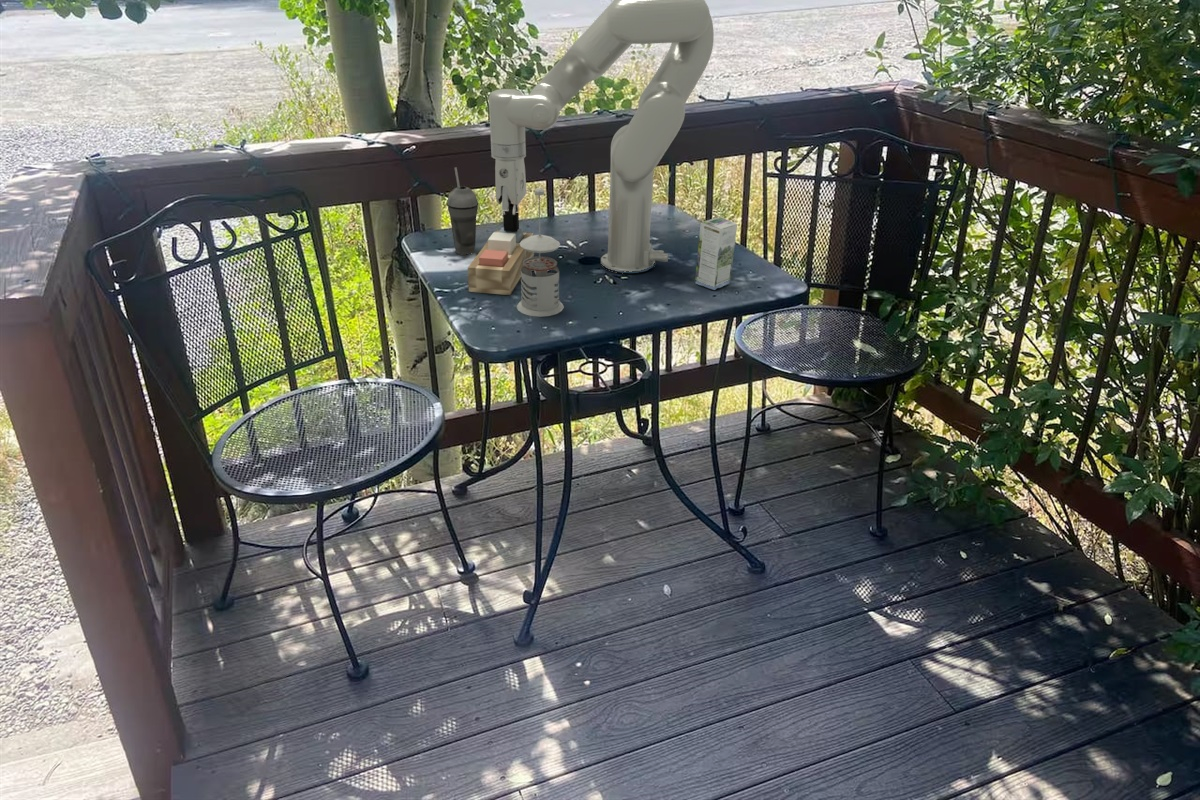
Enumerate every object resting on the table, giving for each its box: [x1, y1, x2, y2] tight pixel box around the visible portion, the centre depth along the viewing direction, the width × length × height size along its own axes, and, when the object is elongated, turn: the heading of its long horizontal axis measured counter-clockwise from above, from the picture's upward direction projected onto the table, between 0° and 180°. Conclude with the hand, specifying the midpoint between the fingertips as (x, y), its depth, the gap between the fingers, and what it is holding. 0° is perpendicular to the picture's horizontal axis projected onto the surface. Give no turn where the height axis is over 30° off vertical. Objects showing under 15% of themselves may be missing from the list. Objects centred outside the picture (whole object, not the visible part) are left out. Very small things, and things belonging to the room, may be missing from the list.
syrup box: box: [694, 216, 738, 287], centre depth 193 cm, size 6×6×14 cm
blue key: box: [498, 226, 524, 243], centre depth 204 cm, size 5×5×4 cm
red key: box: [479, 250, 508, 267], centre depth 191 cm, size 5×5×4 cm
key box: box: [467, 229, 535, 296], centre depth 198 cm, size 9×24×6 cm, turn 171°
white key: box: [487, 231, 516, 255], centre depth 196 cm, size 5×5×4 cm
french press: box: [516, 187, 565, 317], centre depth 179 cm, size 10×12×25 cm
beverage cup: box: [446, 167, 479, 256], centre depth 205 cm, size 7×7×20 cm
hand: (511, 230), depth 202 cm, fingers closed
